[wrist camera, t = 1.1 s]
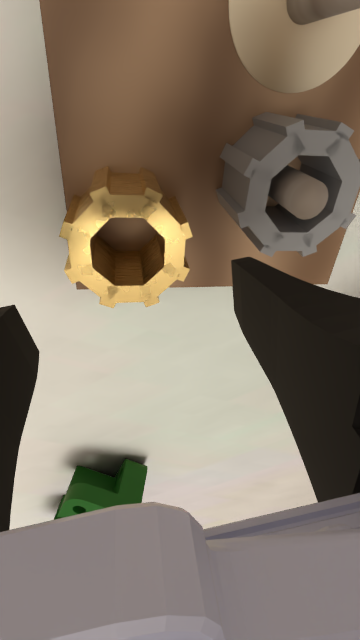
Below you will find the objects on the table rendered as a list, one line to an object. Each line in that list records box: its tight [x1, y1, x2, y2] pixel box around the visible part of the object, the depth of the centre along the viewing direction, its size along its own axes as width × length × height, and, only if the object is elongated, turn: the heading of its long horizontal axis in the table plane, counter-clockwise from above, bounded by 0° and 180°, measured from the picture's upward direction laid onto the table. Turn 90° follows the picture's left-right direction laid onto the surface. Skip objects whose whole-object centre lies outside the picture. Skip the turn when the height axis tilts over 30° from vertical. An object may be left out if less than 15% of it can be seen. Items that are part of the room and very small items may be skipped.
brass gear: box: [59, 166, 193, 308], centre depth 17 cm, size 6×6×4 cm
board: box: [39, 0, 360, 289], centre depth 14 cm, size 16×20×6 cm
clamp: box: [54, 459, 147, 520], centre depth 32 cm, size 12×6×9 cm, turn 150°
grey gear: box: [216, 112, 360, 257], centre depth 16 cm, size 6×6×4 cm
